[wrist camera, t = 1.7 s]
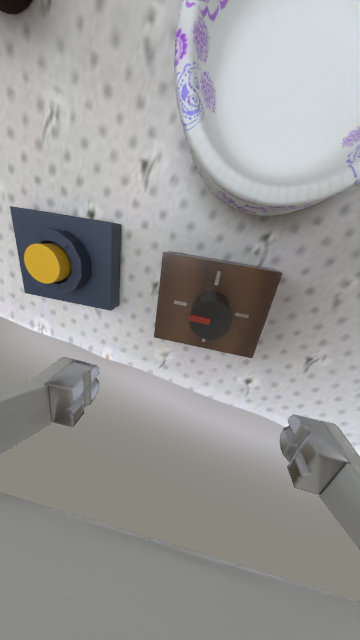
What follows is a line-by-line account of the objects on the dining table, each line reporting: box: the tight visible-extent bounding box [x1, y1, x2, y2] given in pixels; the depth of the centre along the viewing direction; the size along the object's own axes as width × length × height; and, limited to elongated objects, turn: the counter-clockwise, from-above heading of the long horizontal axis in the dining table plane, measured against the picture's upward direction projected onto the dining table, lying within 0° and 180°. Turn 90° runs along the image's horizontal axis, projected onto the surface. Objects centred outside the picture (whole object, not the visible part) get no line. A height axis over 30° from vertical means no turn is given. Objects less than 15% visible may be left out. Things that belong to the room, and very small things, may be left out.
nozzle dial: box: [189, 291, 232, 340], centre depth 19 cm, size 4×4×4 cm
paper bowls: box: [174, 0, 360, 216], centre depth 13 cm, size 15×15×8 cm
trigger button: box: [24, 244, 71, 284], centre depth 20 cm, size 4×4×2 cm
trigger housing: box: [10, 206, 121, 310], centre depth 23 cm, size 12×10×4 cm
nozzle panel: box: [154, 251, 282, 358], centre depth 22 cm, size 12×10×3 cm
